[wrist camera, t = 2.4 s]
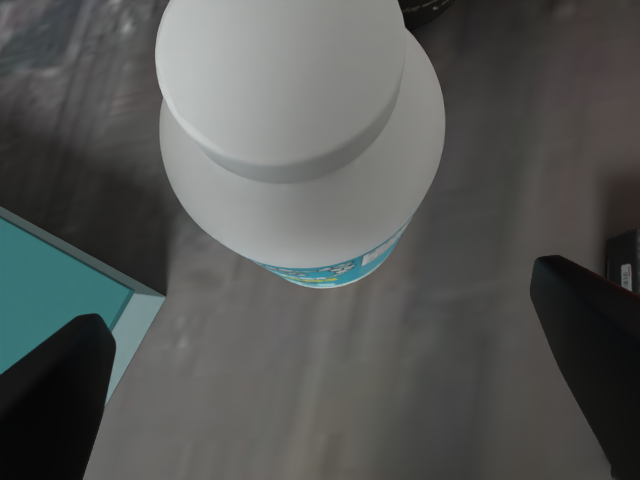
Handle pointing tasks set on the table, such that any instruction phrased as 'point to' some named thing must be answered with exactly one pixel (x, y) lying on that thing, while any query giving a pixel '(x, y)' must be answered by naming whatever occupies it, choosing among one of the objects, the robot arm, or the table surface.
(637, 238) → the disk drive
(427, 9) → the jar
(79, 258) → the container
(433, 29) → the table surface
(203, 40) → the pill bottle
